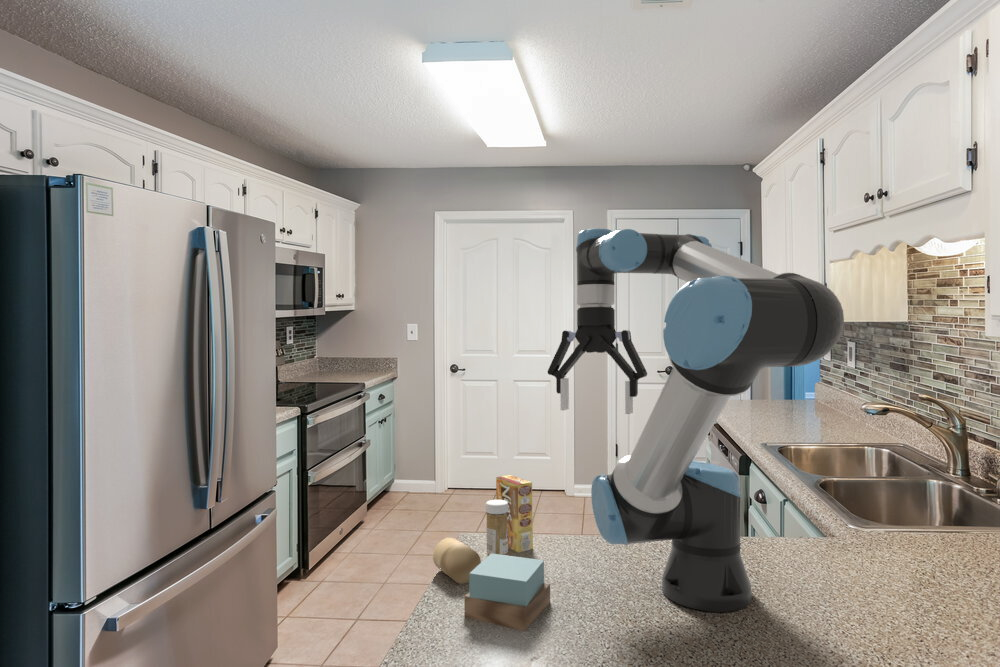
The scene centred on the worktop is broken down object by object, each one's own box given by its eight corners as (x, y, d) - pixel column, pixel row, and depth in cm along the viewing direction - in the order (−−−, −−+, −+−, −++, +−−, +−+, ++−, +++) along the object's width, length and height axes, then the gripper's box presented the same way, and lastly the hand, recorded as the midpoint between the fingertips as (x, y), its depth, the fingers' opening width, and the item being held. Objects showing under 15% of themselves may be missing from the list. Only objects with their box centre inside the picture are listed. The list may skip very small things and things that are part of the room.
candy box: (533, 552, 134) (533, 481, 134) (518, 556, 132) (517, 484, 132) (511, 540, 141) (510, 474, 141) (495, 544, 139) (495, 476, 139)
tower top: (544, 582, 109) (543, 560, 109) (526, 606, 99) (526, 581, 99) (491, 575, 112) (491, 553, 112) (469, 597, 103) (469, 573, 103)
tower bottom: (550, 606, 108) (550, 584, 108) (524, 634, 98) (524, 609, 98) (494, 594, 113) (494, 573, 113) (464, 619, 103) (464, 595, 103)
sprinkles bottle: (511, 571, 123) (510, 504, 123) (488, 573, 122) (488, 505, 122) (505, 562, 128) (505, 498, 128) (484, 564, 127) (483, 499, 127)
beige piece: (466, 559, 126) (485, 572, 119) (439, 576, 123) (457, 590, 116) (456, 531, 125) (474, 542, 118) (428, 547, 122) (446, 560, 115)
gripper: (662, 306, 122) (662, 412, 122) (546, 308, 134) (546, 406, 134) (653, 304, 116) (653, 417, 116) (532, 307, 127) (532, 410, 127)
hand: (596, 411), depth 125 cm, fingers open, 13 cm apart
